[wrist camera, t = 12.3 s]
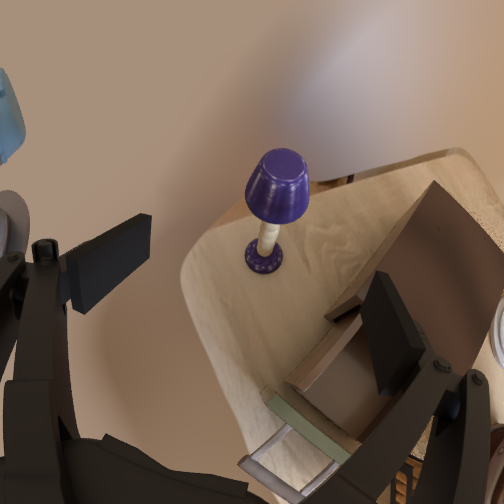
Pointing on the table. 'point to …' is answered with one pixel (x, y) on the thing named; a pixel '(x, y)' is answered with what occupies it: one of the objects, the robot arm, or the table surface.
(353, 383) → the drawer
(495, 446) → the flowerpot
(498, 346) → the monster figurine
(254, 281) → the table surface
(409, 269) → the cabinet
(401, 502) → the ammunition clip
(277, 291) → the table surface
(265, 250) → the toy lamp
